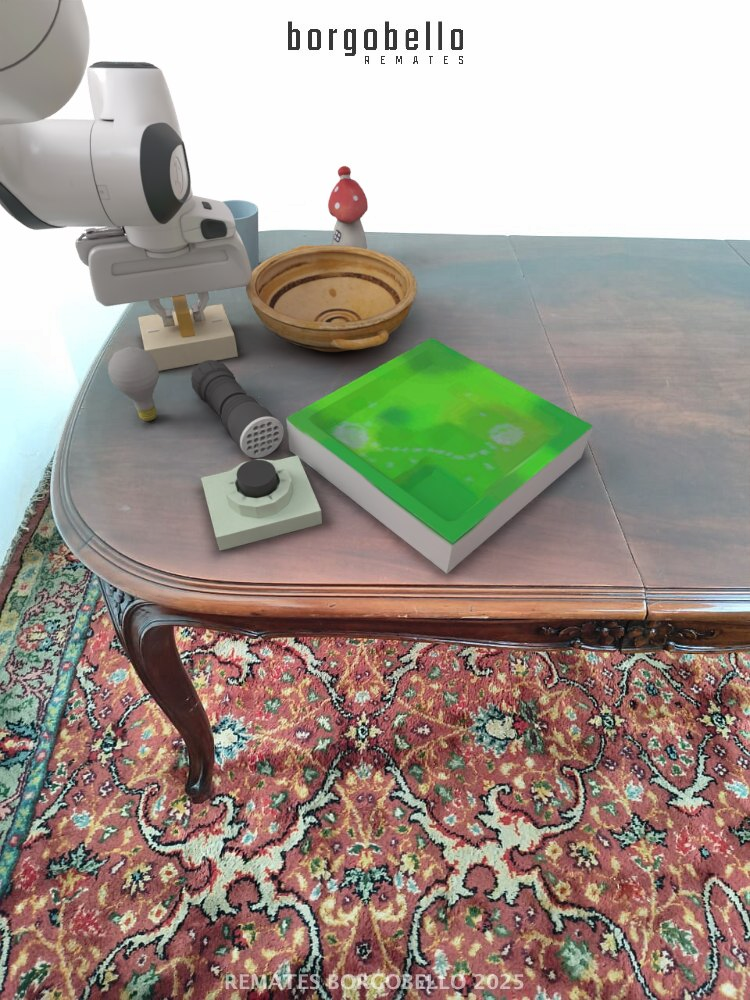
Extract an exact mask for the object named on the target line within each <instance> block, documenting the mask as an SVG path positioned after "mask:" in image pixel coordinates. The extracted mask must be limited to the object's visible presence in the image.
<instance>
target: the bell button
mask: <svg viewBox="0 0 750 1000" xmlns="http://www.w3.org/2000/svg"><path fill="white" fill-rule="evenodd" d="M265 460H266V459H265ZM265 460H256V459H252V460H248V462H247V461H245V462H246V463H244V464H243V465H241V466H240V467H239V469H238V471H237V480H238V485H239V489H240V491H241V492H242V493H243V494H244V495H245V496H248V497H251V498H260V497H265V496H267V495H269V494H271V493H272V492H273V491H274V490H275V489H276V487H277V477H276V470H275V467H274V466H273V465H272V464H271V463H270V462H268V461H265Z"/></svg>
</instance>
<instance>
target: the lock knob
mask: <svg viewBox="0 0 750 1000" xmlns="http://www.w3.org/2000/svg"><path fill="white" fill-rule="evenodd" d="M171 301H172V305H173V309H174V311H175V313H176V317H177V321H178V325H179V329H180V333H181V337H188V336H194V335H195V333H194V328H193V324H192V320H191V315H190V311H189V309H190V308H189V304H188V301H187V298H186V295H182V296H175V297H171Z"/></svg>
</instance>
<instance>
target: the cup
mask: <svg viewBox="0 0 750 1000" xmlns="http://www.w3.org/2000/svg"><path fill="white" fill-rule="evenodd" d="M222 202H223V203H225V205H226V206H227V207H228V208H229V210H230V211H231V213H232V215H233V218H234V221H235V227H236V230H237V232H238V234H239V236H240V237H241V239H242V242H243V244H244V246H245V249H246V252H247V255H248V258H249V262H250V266H251V271H252V272H253V270H254V269H255V268H256V267H257V266H259V265H260V264H259V263H260V260H259V259H260V258H259V257H260V255H259V254H260V251H259V243H260V242H259V207H258V205H257V204H255V203H254V202H251V201H247V200H241V199H230V200H228V199H227V200H223V201H222Z"/></svg>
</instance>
